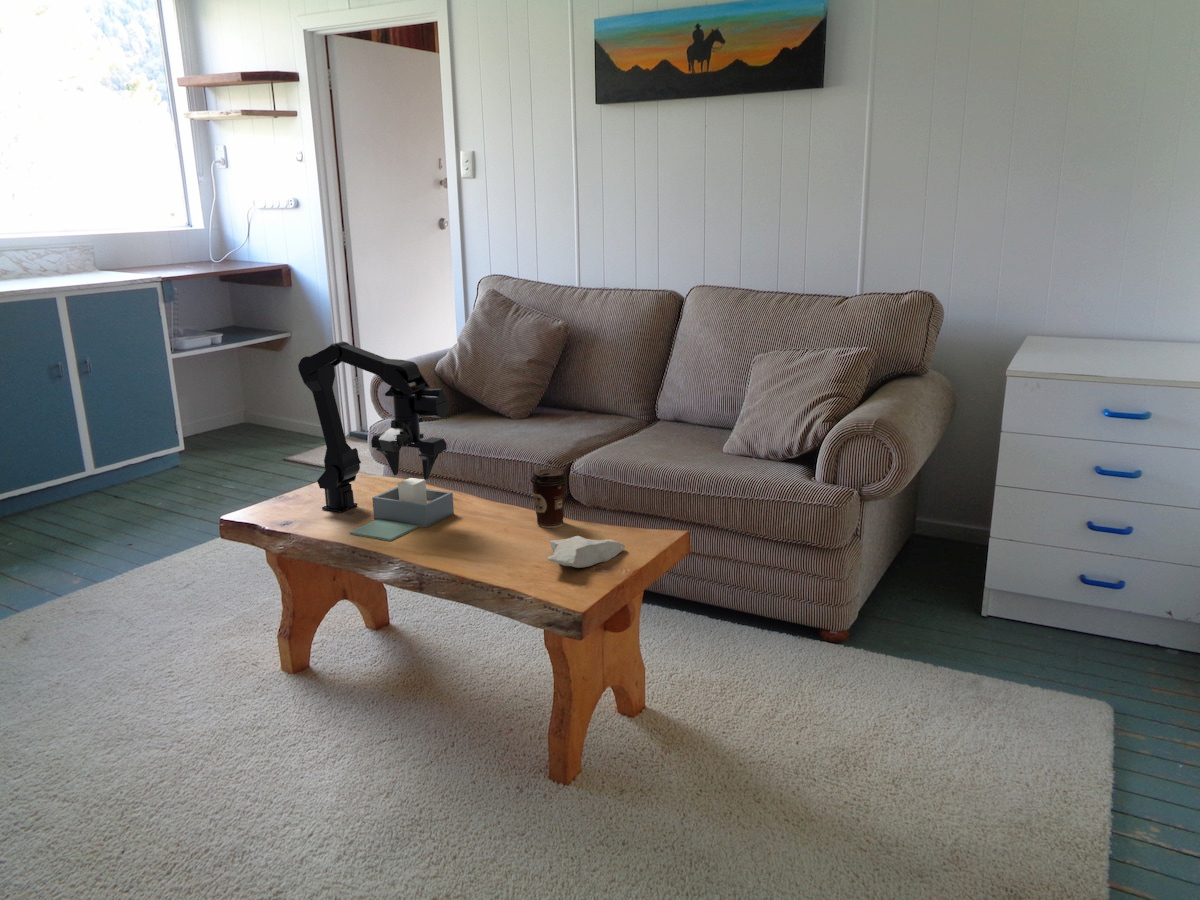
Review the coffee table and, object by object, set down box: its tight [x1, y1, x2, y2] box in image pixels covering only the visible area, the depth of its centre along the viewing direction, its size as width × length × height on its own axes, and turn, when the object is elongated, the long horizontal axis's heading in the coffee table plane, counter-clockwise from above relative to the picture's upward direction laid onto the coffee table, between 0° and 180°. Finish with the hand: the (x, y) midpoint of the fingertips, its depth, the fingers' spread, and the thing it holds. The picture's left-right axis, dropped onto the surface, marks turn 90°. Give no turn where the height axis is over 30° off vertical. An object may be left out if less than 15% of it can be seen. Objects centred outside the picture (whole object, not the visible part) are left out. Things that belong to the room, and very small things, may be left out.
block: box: [397, 477, 427, 504], centre depth 225 cm, size 4×5×6 cm
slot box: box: [372, 486, 455, 528], centre depth 226 cm, size 16×11×6 cm
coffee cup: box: [529, 468, 568, 529], centre depth 217 cm, size 9×8×13 cm
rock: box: [547, 535, 626, 569], centre depth 196 cm, size 21×5×15 cm
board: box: [349, 519, 419, 542], centre depth 217 cm, size 12×10×1 cm
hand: (410, 477), depth 224 cm, fingers open, 9 cm apart
